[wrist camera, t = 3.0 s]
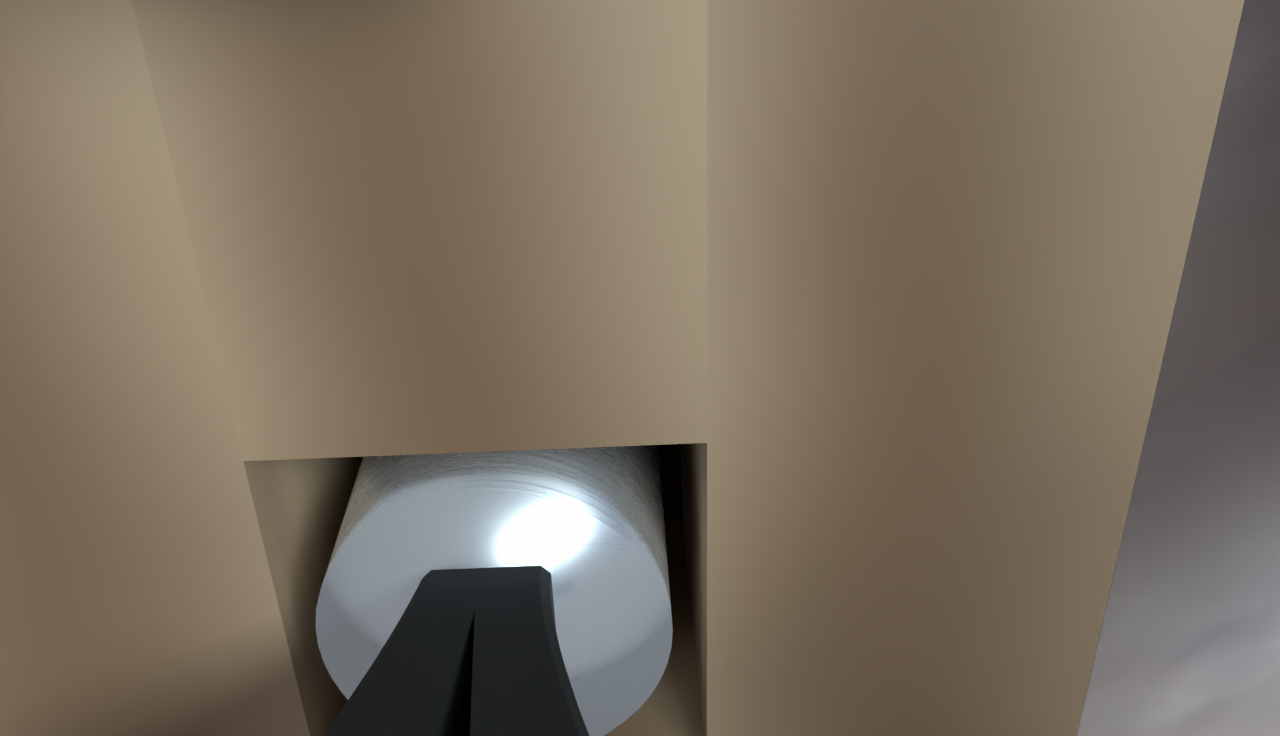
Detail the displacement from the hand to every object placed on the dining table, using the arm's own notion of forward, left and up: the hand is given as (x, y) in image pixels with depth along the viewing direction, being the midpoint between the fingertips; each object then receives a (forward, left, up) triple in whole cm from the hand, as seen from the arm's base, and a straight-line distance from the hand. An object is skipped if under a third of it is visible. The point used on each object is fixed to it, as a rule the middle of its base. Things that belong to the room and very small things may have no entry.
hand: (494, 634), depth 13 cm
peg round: (0, 0, -5) cm, 5 cm away
